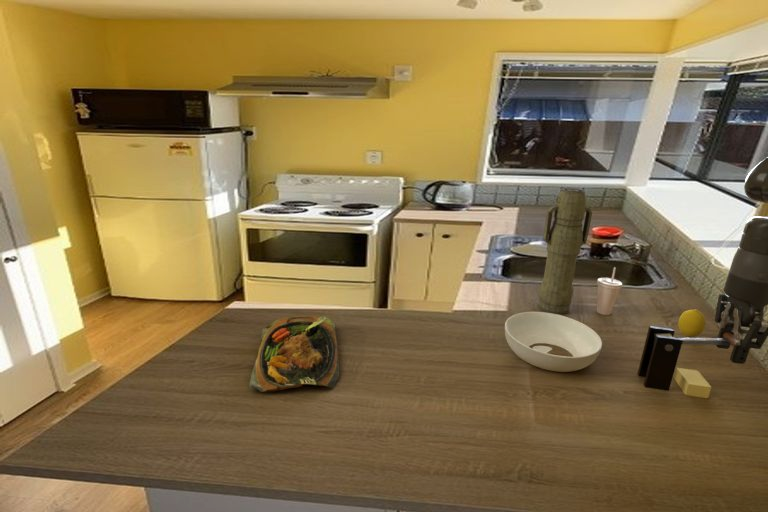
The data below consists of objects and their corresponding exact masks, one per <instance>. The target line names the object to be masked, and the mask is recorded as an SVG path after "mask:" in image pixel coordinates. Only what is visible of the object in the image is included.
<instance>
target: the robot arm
mask: <svg viewBox="0 0 768 512" xmlns="http://www.w3.org/2000/svg"><path fill="white" fill-rule="evenodd" d="M743 190H744V193H745V195H746V197H748V199H750V200H752V201H755V202H759V203H764V204H768V156H766V157H765V158H764V159H763V160H761V161H760V162H759V163H758V164H756V165H755V166H754V167H753V168H752V169H751V170H750V172H749V173H748V175H747V176H746V178H745V180H744V186H743ZM723 292H724V293H719V294H718V298H717V304H716V309H715V315H714V322H715V323H716V324H717V323H718V325H717V327H718V329H719V331H718V335H717V337H716V338H723V334H724V333H727V332H728V333H731V334H732V335H733V336H735V338H736V344H735V345H734V347H733V348H732V351H731V354H730V356H729V361H731V363H733V364H740V365H743V364H745V363H746V361H747V359H748V356H749V353H750V350H751V349H755V350H760V349H762V348H763V347H762V346H763V345H764V343H765V341H766V340H767V338H768V321H766V320H765V318H764V312H765V311H764V310H765V307H767V306H768V215H767V216H765V215H762V216H761V215H759V216H753V217H751V218H749V219H748V220H747V221H746V223H745V225H744V228H743V231H742V235H741V238H740V240H739V244H738V247H737V250H736V252H735V254H734V256H733V258H732V261H731V264H730V268H729V271H728V274H727V277H726V280H725V284H724V287H723ZM744 328H749V329H744ZM744 334H745V335H744ZM715 347H717V348H718V349H722V350H723V349H724V350H728V349H729V348H730V347H731V345H715Z"/></svg>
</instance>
